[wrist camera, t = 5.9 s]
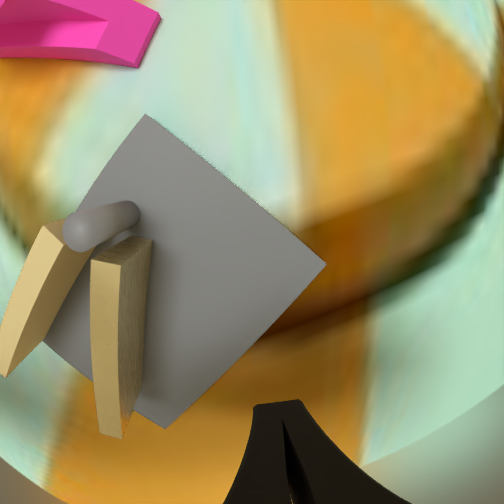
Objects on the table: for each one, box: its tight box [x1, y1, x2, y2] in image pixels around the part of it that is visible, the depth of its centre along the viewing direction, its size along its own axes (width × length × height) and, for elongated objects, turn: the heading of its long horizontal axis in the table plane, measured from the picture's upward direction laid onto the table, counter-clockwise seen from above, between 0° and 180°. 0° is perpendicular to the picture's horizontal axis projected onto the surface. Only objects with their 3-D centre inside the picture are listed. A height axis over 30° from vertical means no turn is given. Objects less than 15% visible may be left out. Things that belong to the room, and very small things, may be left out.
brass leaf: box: [90, 236, 153, 439], centre depth 13 cm, size 9×1×5 cm, turn 169°
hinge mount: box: [0, 114, 326, 429], centre depth 14 cm, size 15×12×6 cm
